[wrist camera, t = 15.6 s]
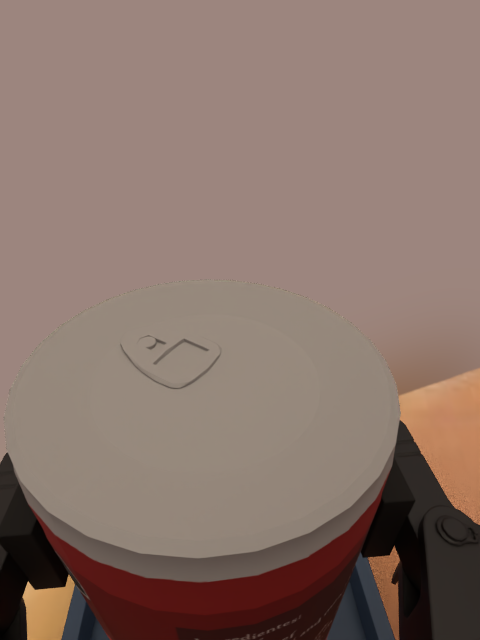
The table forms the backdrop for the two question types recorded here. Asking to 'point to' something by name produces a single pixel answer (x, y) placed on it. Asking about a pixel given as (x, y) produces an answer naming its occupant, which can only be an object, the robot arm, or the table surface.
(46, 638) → the table surface
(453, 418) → the table surface
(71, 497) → the canned food
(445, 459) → the table surface
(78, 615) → the tray
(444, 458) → the table surface
